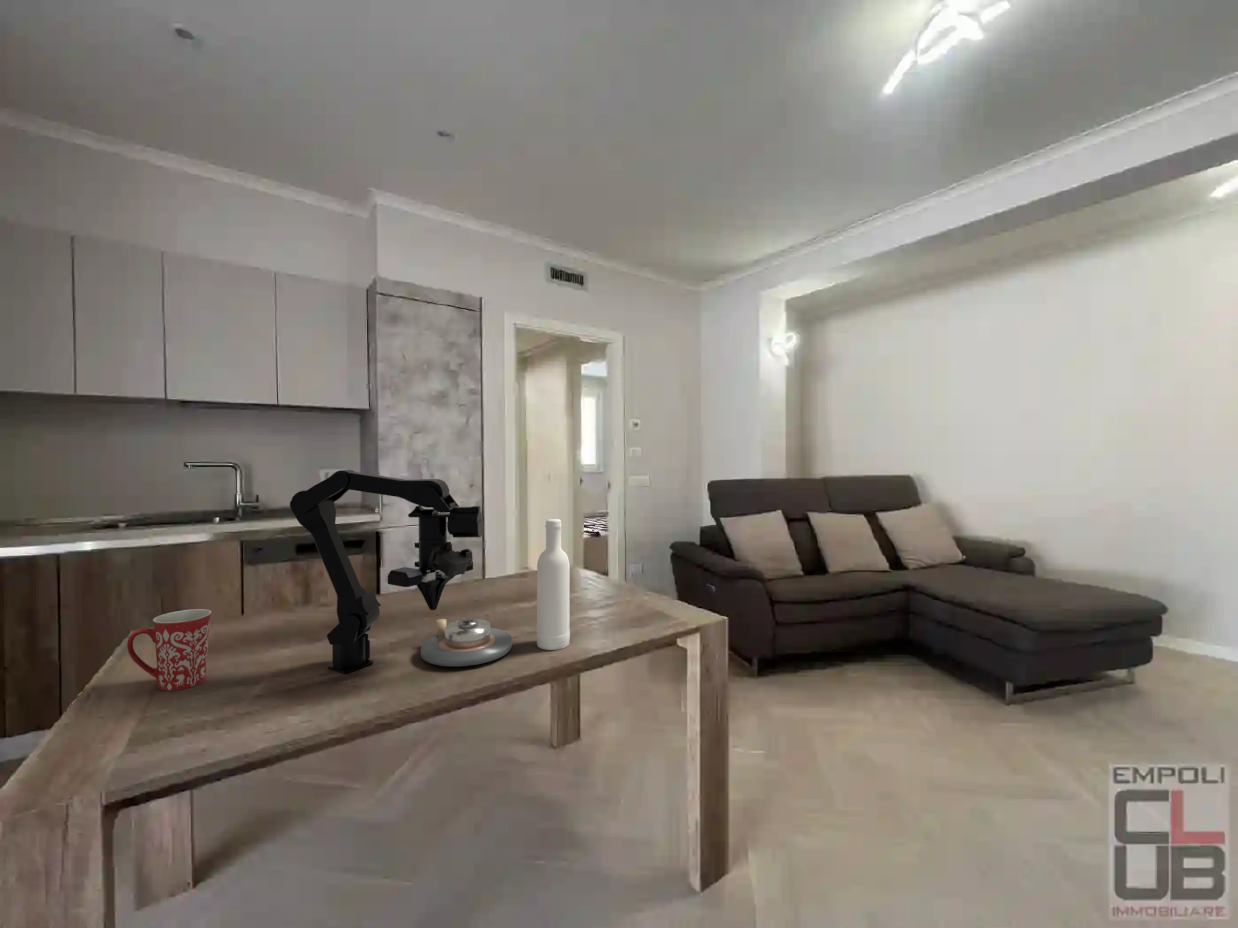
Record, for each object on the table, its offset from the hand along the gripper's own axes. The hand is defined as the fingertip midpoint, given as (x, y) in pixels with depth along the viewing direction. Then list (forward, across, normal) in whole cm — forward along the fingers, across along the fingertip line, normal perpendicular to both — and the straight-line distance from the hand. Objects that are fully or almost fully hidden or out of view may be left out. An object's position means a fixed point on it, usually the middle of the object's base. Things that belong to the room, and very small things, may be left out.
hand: (433, 609), depth 113 cm
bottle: (+12, +23, -16) cm, 30 cm away
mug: (+12, -32, +37) cm, 50 cm away
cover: (+9, +9, -1) cm, 13 cm away
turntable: (+12, +9, -1) cm, 15 cm away
